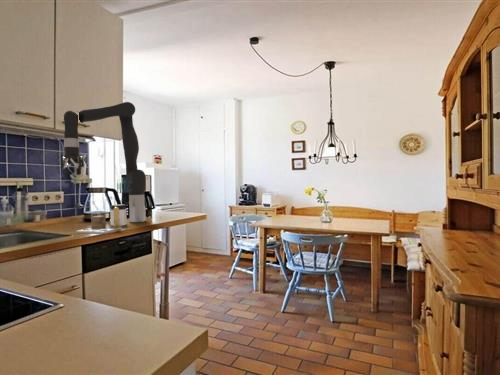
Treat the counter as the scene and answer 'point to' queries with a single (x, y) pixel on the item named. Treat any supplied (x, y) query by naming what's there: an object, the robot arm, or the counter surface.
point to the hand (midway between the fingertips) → (72, 175)
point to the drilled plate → (95, 231)
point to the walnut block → (98, 222)
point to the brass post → (116, 219)
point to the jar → (121, 214)
